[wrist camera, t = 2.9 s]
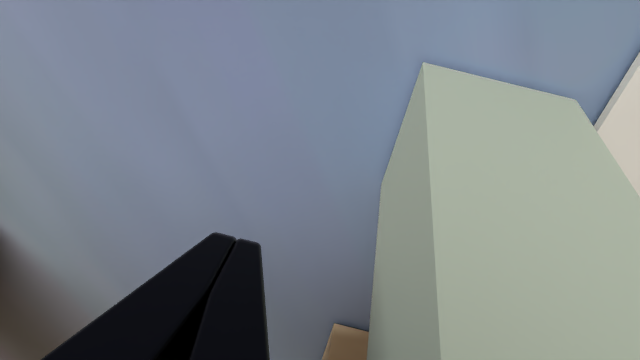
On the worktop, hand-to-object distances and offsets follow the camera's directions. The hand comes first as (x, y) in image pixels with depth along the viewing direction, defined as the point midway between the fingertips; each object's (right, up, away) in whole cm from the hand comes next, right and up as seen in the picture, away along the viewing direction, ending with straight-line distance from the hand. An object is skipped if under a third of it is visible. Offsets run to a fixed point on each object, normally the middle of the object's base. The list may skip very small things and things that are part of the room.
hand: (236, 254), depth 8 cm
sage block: (+6, +2, +5) cm, 8 cm away
